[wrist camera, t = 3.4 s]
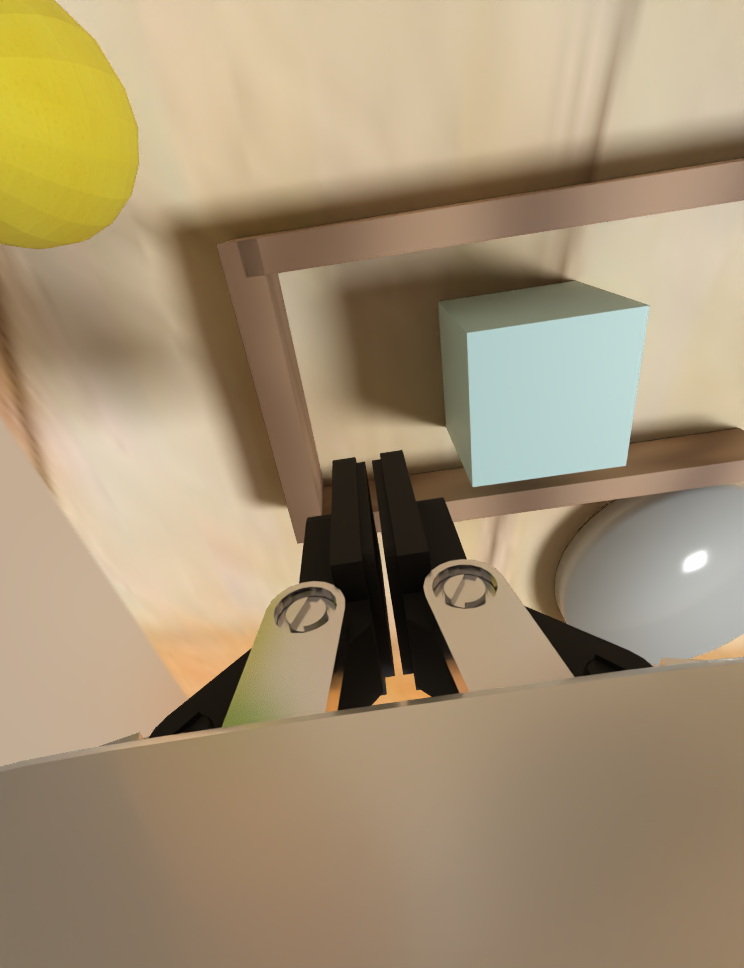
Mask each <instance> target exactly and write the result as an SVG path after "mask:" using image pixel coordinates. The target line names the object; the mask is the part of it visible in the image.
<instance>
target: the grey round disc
mask: <svg viewBox="0 0 744 968" xmlns="http://www.w3.org/2000/svg"><path fill="white" fill-rule="evenodd" d="M554 586H555V598H556V602H557V605H558V607H559V610H560V612H561V614H562V616H563V618H564V620H565V622H566V624H568V625H571V626H573V627H575V628H578V629H580V630H582V631H585V632H587V633H589V634H592V635H594V636H596V637H599V638H601V639H604V640H606V641H608V642H611V643H613V644H615V645H618V646H620V647H622V648H625V649H627V650H629V651H631V652H633V653H635V654H637V655H639V656H640V657H642V658H644V659H645V660H646V661H647V662H649V663H650V664H653V665H660V663H661V658H677V659H690V658H693V657H696V656H699V655H702V654H705V653H707V652H710V651H712V650H714V649H717V648H719V647H721V646H723V645H725V644H727V643H729V642H730V641H732V640H734V639H735V638H737V637H739V636H740V635H742V634H744V482H737V483H730V484H722V485H715V486H708V487H701V488H694V489H686V490H679V491H672V492H665V493H658V494H650V495H643V496H636V497H629V498H622V499H616V500H615V501H613V502H612V503H610V504H609V505H607V506H606V507H604V508H603V509H602V510H601V511H599V512H598V513H597V514H596V515H594V516H593V517H592V518H591V519H590V520H589V521H588V522H587V523H586V524H585V525H584V526H583V527H582V528H581V529H580V530H579V531H578V533H577V534H576V535H575V536H574V537H573V539H572V540H571V542H570V543H569V545H568V546H567V548H566V549H565V551H564V553H563V555H562V557H561V559H560V562H559V565H558V568H557V571H556V576H555V583H554Z"/></svg>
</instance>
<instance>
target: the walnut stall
mask: <svg viewBox="0 0 744 968" xmlns="http://www.w3.org/2000/svg"><path fill="white" fill-rule="evenodd" d="M742 200H744V158H740V159H734V160H727V161H721V162H715V163H709V164H702V165H696V166H690V167H683V168H677V169H671V170H665V171H658V172H652V173H646V174H639V175H633V176H627V177H621V178H614V179H608V180H602V181H595V182H589V183H583V184H577V185H570V186H564V187H558V188H551V189H545V190H539V191H533V192H526V193H520V194H514V195H507V196H501V197H495V198H489V199H482V200H476V201H470V202H463V203H457V204H451V205H445V206H438V207H432V208H426V209H419V210H413V211H407V212H401V213H394V214H388V215H382V216H375V217H369V218H363V219H357V220H350V221H344V222H338V223H331V224H325V225H319V226H312V227H306V228H300V229H294V230H287V231H281V232H275V233H268V234H262V235H256V236H250V237H243V238H237V239H232V240H229V241H226V242H223V243H220V244H216V245H217V249H218V253H219V256H220V260H221V264H222V267H223V271H224V275H225V278H226V282H227V286H228V289H229V293H230V297H231V301H232V304H233V308H234V312H235V315H236V319H237V323H238V326H239V330H240V334H241V337H242V341H243V345H244V348H245V352H246V356H247V360H248V363H249V367H250V371H251V374H252V378H253V382H254V385H255V389H256V393H257V396H258V400H259V404H260V407H261V411H262V415H263V418H264V422H265V426H266V430H267V433H268V437H269V441H270V444H271V448H272V452H273V455H274V459H275V463H276V466H277V470H278V474H279V477H280V481H281V485H282V488H283V492H284V496H285V500H286V503H287V507H288V511H289V514H290V518H291V522H292V525H293V529H294V533H295V536H296V540H297V544H298V543H304V536H305V527H306V520H307V518H308V517H313V516H320V515H327V514H331V502H332V486H329V487H324V483H323V478H322V473H321V469H320V464H319V460H318V455H317V451H316V446H315V442H314V437H313V432H312V428H311V423H310V419H309V414H308V410H307V405H306V400H305V396H304V391H303V387H302V382H301V378H300V373H299V369H298V364H297V359H296V355H295V350H294V346H293V341H292V337H291V332H290V328H289V323H288V318H287V314H286V309H285V305H284V300H283V296H282V291H281V286H280V282H279V277H278V273H281V272H288V271H294V270H301V269H307V268H313V267H320V266H326V265H333V264H339V263H345V262H352V261H358V260H365V259H371V258H377V257H384V256H390V255H397V254H403V253H409V252H416V251H422V250H429V249H435V248H441V247H448V246H454V245H461V244H467V243H473V242H480V241H486V240H492V239H499V238H505V237H512V236H518V235H524V234H531V233H537V232H544V231H550V230H556V229H563V228H569V227H576V226H582V225H588V224H595V223H601V222H608V221H614V220H620V219H627V218H633V217H640V216H646V215H652V214H659V213H665V212H671V211H678V210H684V209H691V208H697V207H703V206H710V205H716V204H723V203H729V202H735V201H742ZM409 477H410V481H411V484H412V488H413V492H414V496H415V499H416V501H420V500H427V499H434V498H440V497H443V498H444V499H445V502H446V504H447V507H448V510H449V513H450V515H451V518H452V521H453V522H456V521H463V520H470V519H478V518H485V517H492V516H499V515H506V514H514V513H521V512H528V511H535V510H542V509H550V508H557V507H564V506H571V505H578V504H586V503H593V502H600V501H607V500H614V499H622V498H629V497H636V496H643V495H650V494H658V493H665V492H672V491H679V490H686V489H694V488H701V487H708V486H715V485H722V484H730V483H737V482H744V431H743V430H742V429H740V428H737V429H730V430H723V431H716V432H709V433H702V434H694V435H687V436H680V437H673V438H666V439H659V440H652V441H645V442H638V443H631V444H629V449H628V456H627V462H626V466H620V467H613V468H606V469H599V470H592V471H585V472H577V473H570V474H563V475H556V476H549V477H542V478H535V479H528V480H520V481H513V482H506V483H499V484H492V485H485V486H478V487H472V485H471V483H470V480H469V478H468V476H467V473H466V471H465V469H464V467H463V468H455V469H448V470H441V471H434V472H427V473H420V474H413V475H409ZM368 483H369V489H370V495H371V501H372V508H373V514H374V520H375V526H376V532H381V525H380V517H379V510H378V502H377V495H376V487H375V480H371V481H368Z"/></svg>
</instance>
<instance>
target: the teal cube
mask: <svg viewBox="0 0 744 968" xmlns="http://www.w3.org/2000/svg"><path fill="white" fill-rule="evenodd" d="M649 307H650V305H647V304H644V303H641V302H638V301H635V300H632V299H629V298H626V297H623V296H620V295H617V294H614V293H611V292H608V291H605V290H602V289H599V288H596V287H593V286H590V285H587V284H584V283H581V282H578V281H570V282H563V283H557V284H550V285H544V286H537V287H531V288H524V289H518V290H511V291H504V292H498V293H491V294H485V295H478V296H472V297H465V298H459V299H452V300H445V301H439V302H438V311H439V326H440V342H441V357H442V373H443V388H444V404H445V419H446V428H447V430H448V433H449V435H450V437H451V440H452V442H453V444H454V446H455V449H456V451H457V453H458V455H459V458H460V460H461V462H462V464H463V467H464V469H465V471H466V473H467V476H468V478H469V480H470V483H471V485H472V487H478V486H485V485H492V484H499V483H506V482H513V481H520V480H528V479H535V478H542V477H549V476H556V475H563V474H570V473H577V472H585V471H592V470H599V469H606V468H613V467H620V466H626V462H627V456H628V449H629V442H630V435H631V429H632V422H633V415H634V408H635V402H636V395H637V388H638V381H639V375H640V368H641V361H642V354H643V347H644V341H645V334H646V327H647V320H648V314H649Z"/></svg>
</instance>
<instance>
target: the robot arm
mask: <svg viewBox="0 0 744 968" xmlns="http://www.w3.org/2000/svg"><path fill="white" fill-rule="evenodd" d="M380 457H381V459H380V460H373V461H372V464H373V472H374V479H375V487H376V495H377V502H378V510H379V517H380V525H381V532H382V540H383V548H384V555H385V562H386V568H387V575H388V581H389V587H390V594H391V600H392V606H393V613H394V619H395V625H396V632H397V638H398V644H399V651H400V657H401V663H402V669H403V675H405V674H412V673H414V678H415V684H416V690H422V691H423V692H425V693H427V694H428V695H430V696H431V697H429V698H422V699H415V700H408V701H401V702H393V703H386V704H379V705H373V706H371V705H372V704H373V703H374V702H375V701H376V700H377V699H378V698H379V696H380V695H386V694H387V692H386V682H385V677H391V676H395V672H394V664H393V655H392V647H391V639H390V630H389V622H388V614H387V605H386V597H385V589H384V580H383V572H382V564H381V557H380V550H379V544H378V538H377V532H376V526H375V520H374V514H373V508H372V501H371V495H370V489H369V483H368V477H367V471H366V465H365V462H360V463H356V458H355V457H353V458H347V459H340V460H334V461H333V467H332V502H331V514H327V515H320V516H313V517H308V518H307V520H306V527H305V536H304V545H303V554H302V563H301V572H300V581H299V584H297V585H294V586H291V587H289V588H288V589H286V590H284V591H283V592H281V593H280V594H278V595H277V596H276V597H275V598H274V599H273V600H272V601H271V603H270V605H269V606H268V608H267V610H266V612H265V615H264V618H263V620H262V623H261V625H260V628H259V631H258V633H257V636H256V639H255V641H254V644H253V646H252V648H251V649H250V650H249V651H247V652H246V653H245V654H244V655H243V656H241V657H240V658H239V659H238V660H236V661H235V662H234V663H233V664H231V665H230V666H229V667H228V668H226V669H225V670H224V671H223V672H221V673H220V674H219V675H218V676H217V677H215V678H214V679H213V680H212V681H210V682H209V683H208V684H207V685H205V686H204V687H203V688H202V689H200V690H199V691H198V692H197V693H196V694H194V695H193V696H192V697H191V698H189V699H188V700H187V701H186V702H184V703H183V704H182V705H181V706H179V707H178V708H177V709H176V710H175V711H173V712H172V713H171V714H170V715H168V716H167V717H166V718H165V719H164V720H163V721H162V722H161V723H160V724H159V725H158V726H157V727H156V728H155V729H154V731H153V732H152V734H151V735H150V736H149V737H147V738H143V737H142V735H141V734H140V733H136V734H133V735H131V736H128V737H125V738H122V739H119V740H116V741H113V742H110V743H107V744H105V745H102V746H99V747H94V748H88V749H82V750H77V751H71V752H66V753H61V754H56V755H50V756H45V757H40V758H35V759H30V760H24V761H20V762H16V763H12V764H9V765H5V766H2V767H0V968H744V657H738V658H725V659H715V660H697V659H677V658H661V663H660V665H653V664H650V663H649V662H647V661H646V660H645V659H644V658H642V657H640V656H639V655H637V654H635V653H633V652H631V651H629V650H627V649H625V648H622V647H620V646H618V645H615V644H613V643H611V642H608V641H606V640H604V639H601V638H599V637H596V636H594V635H592V634H589V633H587V632H585V631H582V630H580V629H578V628H575V627H573V626H571V625H568V624H566V623H563V622H561V621H559V620H556V619H554V618H552V617H549V616H547V615H545V614H542V613H540V612H537V611H535V610H533V609H530V608H528V607H526V606H524V605H523V603H522V602H521V601H520V599H519V598H518V596H517V595H516V593H515V592H514V591H513V589H512V588H511V586H510V585H509V584H508V582H507V581H506V579H505V578H504V577H503V575H502V574H501V573H500V572H499V571H498V570H497V569H496V568H494V567H492V566H490V565H488V564H487V563H484V562H480V561H476V560H467V559H466V556H465V553H464V550H463V548H462V545H461V542H460V540H459V537H458V534H457V531H456V529H455V526H454V523H453V521H452V518H451V515H450V513H449V510H448V507H447V504H446V502H445V499H444V498H443V497H440V498H434V499H427V500H420V501H416V499H415V496H414V492H413V488H412V484H411V481H410V477H409V473H408V469H407V466H406V462H405V458H404V454H403V451H402V450H400V451H393V452H386V453H380Z"/></svg>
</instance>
